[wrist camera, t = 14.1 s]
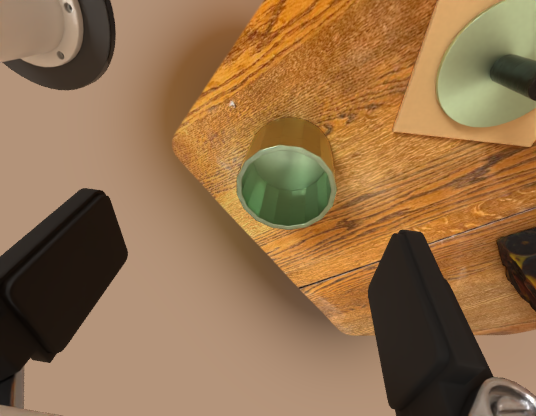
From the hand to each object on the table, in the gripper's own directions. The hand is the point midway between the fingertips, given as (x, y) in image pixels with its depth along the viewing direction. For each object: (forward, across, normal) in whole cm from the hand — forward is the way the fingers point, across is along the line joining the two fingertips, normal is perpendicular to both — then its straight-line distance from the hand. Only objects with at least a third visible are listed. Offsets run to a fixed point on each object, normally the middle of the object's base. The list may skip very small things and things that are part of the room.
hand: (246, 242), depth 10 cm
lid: (+27, -21, -2) cm, 34 cm away
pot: (+28, -1, +11) cm, 30 cm away
